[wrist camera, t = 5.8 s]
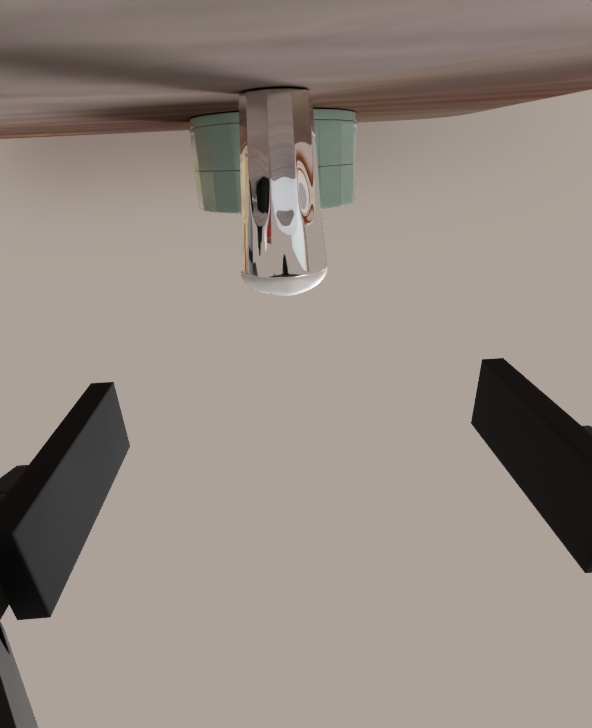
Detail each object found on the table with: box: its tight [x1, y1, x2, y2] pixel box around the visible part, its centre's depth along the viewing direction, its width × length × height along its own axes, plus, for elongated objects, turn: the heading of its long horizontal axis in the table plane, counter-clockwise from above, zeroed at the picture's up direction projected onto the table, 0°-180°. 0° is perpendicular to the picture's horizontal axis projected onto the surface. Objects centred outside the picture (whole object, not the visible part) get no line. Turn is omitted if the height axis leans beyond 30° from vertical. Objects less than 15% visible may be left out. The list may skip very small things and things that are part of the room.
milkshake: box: [239, 88, 327, 296], centre depth 22 cm, size 4×5×10 cm
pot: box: [189, 109, 357, 213], centre depth 33 cm, size 12×12×6 cm
